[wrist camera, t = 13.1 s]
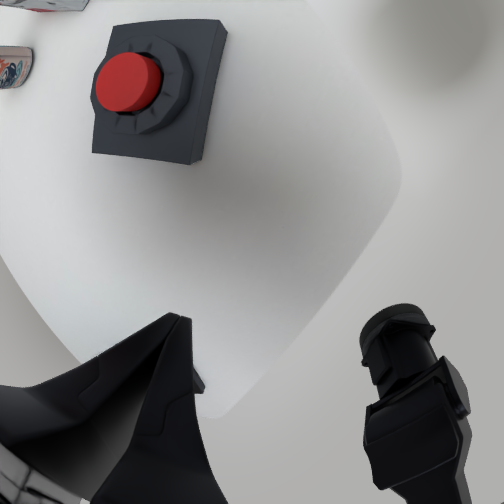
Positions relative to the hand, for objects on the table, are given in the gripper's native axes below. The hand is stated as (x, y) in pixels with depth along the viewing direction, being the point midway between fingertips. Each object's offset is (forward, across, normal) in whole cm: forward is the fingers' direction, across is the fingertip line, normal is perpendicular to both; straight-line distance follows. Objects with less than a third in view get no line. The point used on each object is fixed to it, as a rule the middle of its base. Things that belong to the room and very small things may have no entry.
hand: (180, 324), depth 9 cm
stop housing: (+12, +8, -8) cm, 17 cm away
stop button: (+8, +7, -8) cm, 14 cm away
